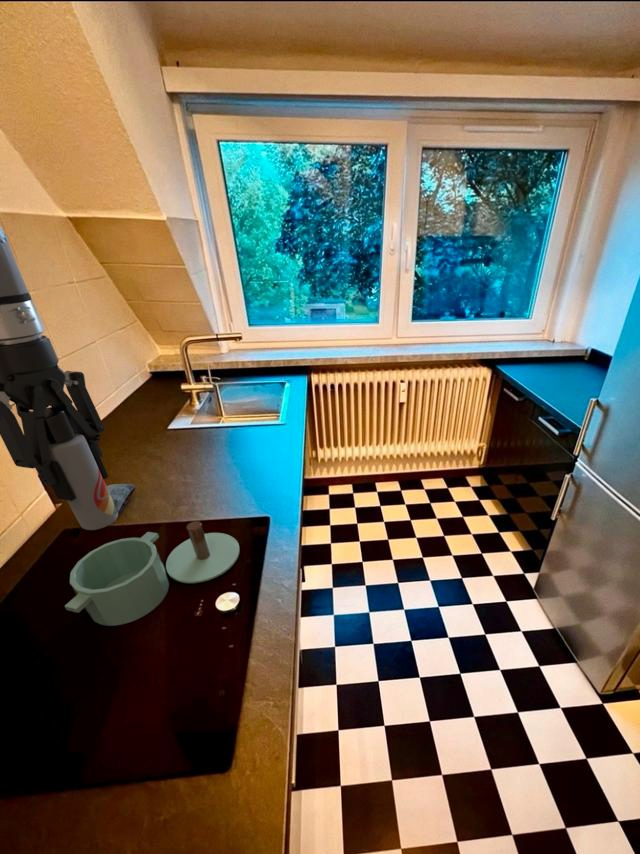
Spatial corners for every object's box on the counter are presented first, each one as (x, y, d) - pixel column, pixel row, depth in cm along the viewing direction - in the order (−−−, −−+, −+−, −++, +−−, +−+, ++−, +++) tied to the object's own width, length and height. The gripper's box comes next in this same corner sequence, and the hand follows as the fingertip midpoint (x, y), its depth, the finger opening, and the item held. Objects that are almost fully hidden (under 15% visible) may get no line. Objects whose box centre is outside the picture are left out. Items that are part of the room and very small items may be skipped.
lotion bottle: (125, 509, 68) (79, 402, 58) (108, 530, 64) (55, 417, 53) (92, 510, 68) (40, 403, 58) (73, 531, 64) (13, 419, 53)
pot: (57, 629, 67) (34, 596, 63) (137, 555, 83) (123, 524, 78) (122, 646, 64) (103, 613, 60) (192, 566, 80) (181, 535, 75)
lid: (151, 578, 77) (136, 543, 72) (195, 532, 89) (185, 499, 84) (215, 591, 74) (204, 556, 69) (252, 542, 86) (245, 509, 81)
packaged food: (84, 522, 93) (76, 505, 90) (105, 494, 103) (99, 479, 100) (122, 519, 94) (115, 502, 91) (140, 492, 104) (134, 476, 101)
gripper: (-47, 359, 42) (50, 526, 54) (94, 325, 57) (144, 461, 69) (-96, 355, 43) (9, 518, 56) (54, 323, 58) (110, 457, 71)
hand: (84, 487), depth 62 cm, fingers closed on lotion bottle, 6 cm apart
